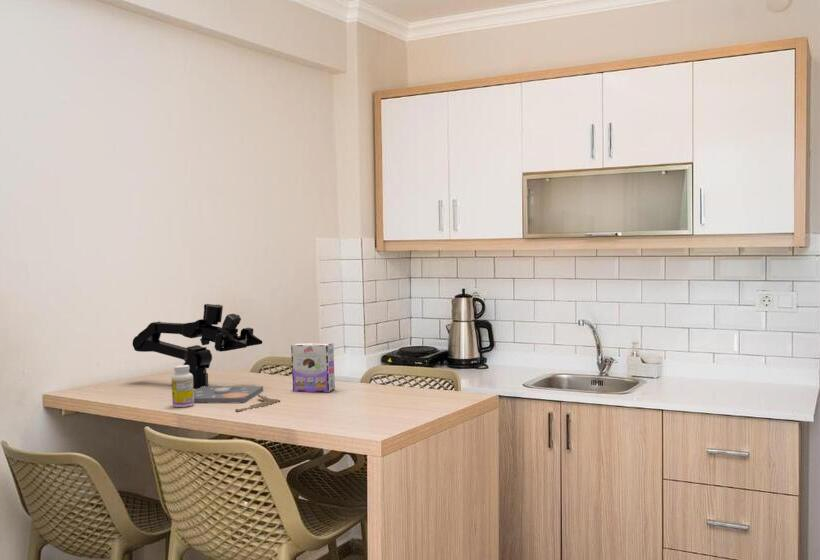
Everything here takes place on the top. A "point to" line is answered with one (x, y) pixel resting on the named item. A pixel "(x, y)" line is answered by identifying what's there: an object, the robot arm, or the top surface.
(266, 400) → the brown flat branched piece
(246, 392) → the dial board
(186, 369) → the supplement bottle
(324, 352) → the candy box
